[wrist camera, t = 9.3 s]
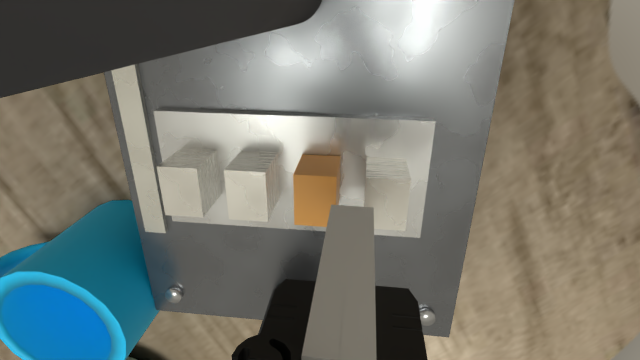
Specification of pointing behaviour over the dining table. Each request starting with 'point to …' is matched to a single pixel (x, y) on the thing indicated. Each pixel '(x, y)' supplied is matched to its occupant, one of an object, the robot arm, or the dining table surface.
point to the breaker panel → (313, 149)
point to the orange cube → (315, 189)
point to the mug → (78, 290)
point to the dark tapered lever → (122, 33)
